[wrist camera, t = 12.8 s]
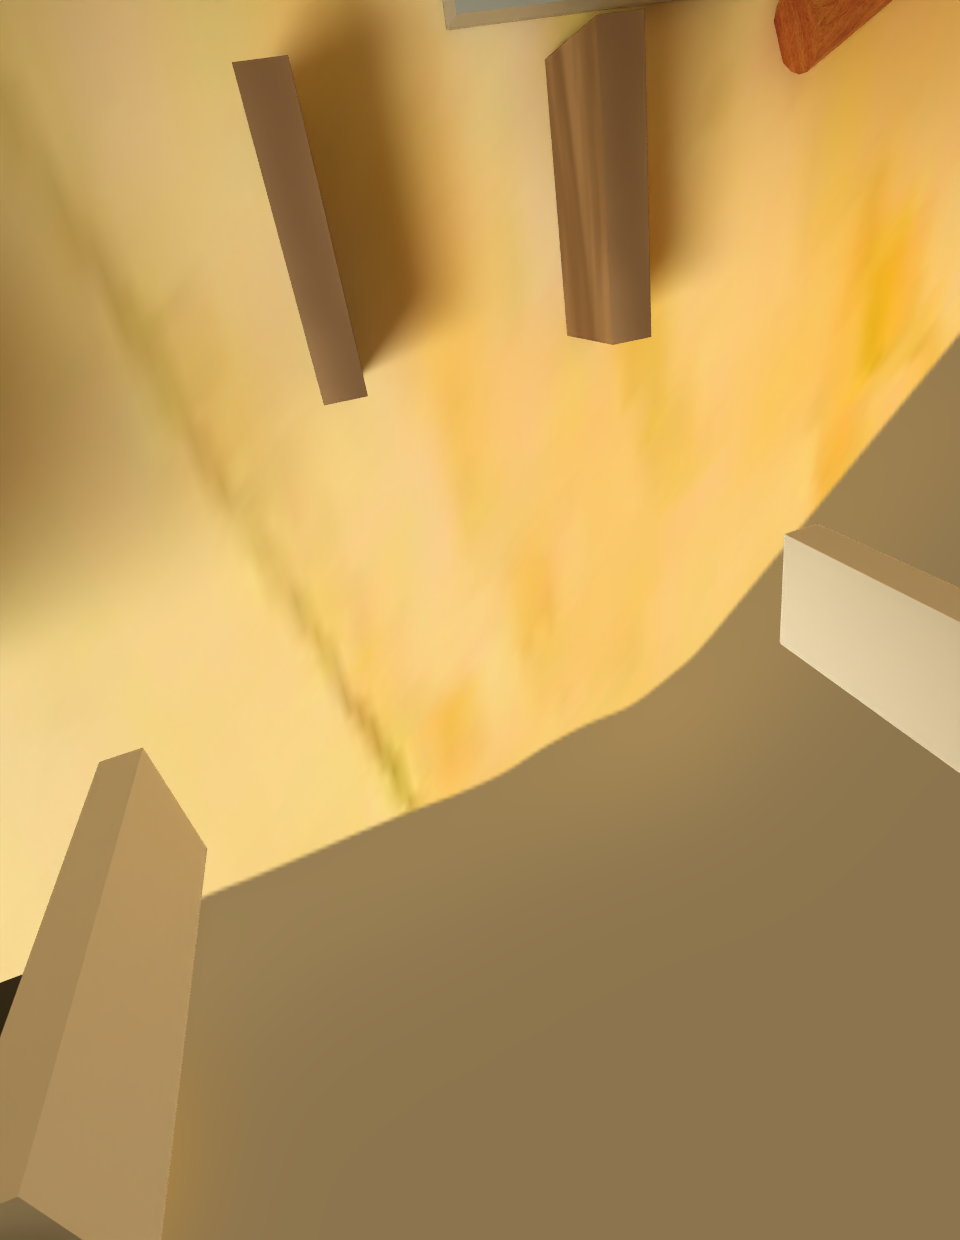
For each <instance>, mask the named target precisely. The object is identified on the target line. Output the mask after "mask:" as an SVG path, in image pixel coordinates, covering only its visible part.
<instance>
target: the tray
mask: <svg viewBox="0 0 960 1240" xmlns="http://www.w3.org/2000/svg"><path fill="white" fill-rule="evenodd" d="M667 1H675V0H443V7H444V14H445V22H446V29H447V30H451V29H459V28H466V27H474V26H482V25H489V24H497V23H505V22H513V21H520V20H528V19H536V18H544V17H551V16H559V15H567V14H575V13H582V12H590V11H598V10H605V9H613V8H621V7H629V6H636V5H644V4H652V3H660V2H667Z"/></svg>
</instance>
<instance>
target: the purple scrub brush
mask: <svg viewBox="0 0 960 1240" xmlns="http://www.w3.org/2000/svg"><path fill="white" fill-rule="evenodd" d="M891 1H892V0H780V2H779V3H778V5H777V9H776V13H775V18H774V24H775V28H776V33H777V37H778V42H779V46H780V51H781V56H782V60H783V63H784V64H785V65H786V66H787V67H788V68H789V70H790V71H792V72H794V73H797V74H802V73H805V72H807V71H809V70H810V69H811V68H812V67H813V66H815V65H816V64H817V63H818V62H819V61H821V60H822V59H823V58H824V57H825V56H827V55H828V54H829V53H830V52H831V51H833V50H834V49H835V48H836V47H837V46H838V45H840V44H841V43H842V42H843V41H844V40H846V39H847V38H848V37H849V36H850V35H852V34H853V33H854V32H855V31H856V30H858V29H859V28H860V27H861V26H862V25H864V24H865V23H866V22H867V21H868V20H869V19H871V18H872V17H873V16H874V15H875V14H877V13H878V12H879V11H880V10H881V9H883V8H884V7H885V6H886V5H887V4H889V3H890V2H891Z"/></svg>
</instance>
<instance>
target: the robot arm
mask: <svg viewBox="0 0 960 1240" xmlns="http://www.w3.org/2000/svg"><path fill="white" fill-rule="evenodd" d="M780 643H781V644H782V645H783V646H785V647H786V648H787V649H789V650H790V651H791V652H793V653H794V654H796V655H797V656H799V657H800V658H801V659H803V660H804V661H806V662H807V663H808V664H809V665H811V666H812V667H814V668H815V669H816V670H818V671H819V672H821V673H822V674H823V675H825V676H826V677H828V678H829V679H830V680H832V681H833V682H835V683H836V684H837V685H839V686H840V687H841V688H843V689H844V690H846V691H847V692H848V693H850V694H851V695H852V696H854V697H855V698H857V699H858V700H859V701H861V702H862V703H864V704H865V705H866V706H868V707H869V708H870V709H872V710H873V711H875V712H876V713H877V714H879V715H880V716H882V717H883V718H884V719H886V720H887V721H888V722H890V723H891V724H893V725H894V726H895V727H897V728H898V729H900V730H901V731H902V732H904V733H905V734H907V735H908V736H909V737H911V738H912V739H913V740H915V741H916V742H918V743H919V744H920V745H922V746H923V747H924V748H926V749H927V750H929V751H930V752H931V753H933V754H934V755H936V756H937V757H938V758H940V759H941V760H942V761H944V762H945V763H947V764H948V765H949V766H951V767H952V768H954V769H955V770H956V771H958V772H959V773H960V588H958V587H956V586H954V585H951V584H949V583H947V582H945V581H943V580H940V579H938V578H936V577H934V576H932V575H929V574H927V573H925V572H923V571H920V570H918V569H916V568H914V567H912V566H909V565H907V564H905V563H903V562H901V561H898V560H896V559H894V558H892V557H890V556H888V555H885V554H883V553H881V552H879V551H877V550H874V549H872V548H870V547H867V546H865V545H863V544H861V543H859V542H857V541H854V540H852V539H850V538H848V537H846V536H843V535H841V534H839V533H837V532H835V531H832V530H830V529H828V528H826V527H823V526H821V525H819V524H814V525H811V526H808V527H805V528H802V529H799V530H796V531H793V532H790V533H787V534H785V537H784V560H783V583H782V606H781V630H780ZM206 854H207V848H206V846H205V844H204V843H203V841H202V840H201V838H200V837H199V835H198V833H197V832H196V830H195V829H194V827H193V826H192V824H191V822H190V821H189V819H188V818H187V816H186V815H185V813H184V811H183V810H182V808H181V807H180V805H179V804H178V802H177V800H176V799H175V797H174V796H173V794H172V793H171V791H170V789H169V788H168V786H167V785H166V783H165V782H164V780H163V778H162V777H161V775H160V774H159V772H158V771H157V769H156V767H155V766H154V764H153V763H152V761H151V760H150V758H149V756H148V755H147V753H146V752H145V750H144V749H143V748H140V749H137V750H134V751H131V752H128V753H125V754H122V755H119V756H116V757H113V758H110V759H107V760H104V761H101V762H99V764H98V767H97V770H96V773H95V775H94V778H93V781H92V784H91V786H90V789H89V792H88V795H87V798H86V800H85V803H84V806H83V809H82V811H81V814H80V817H79V820H78V823H77V825H76V828H75V831H74V834H73V836H72V839H71V842H70V845H69V848H68V850H67V853H66V856H65V859H64V861H63V864H62V867H61V870H60V873H59V875H58V878H57V881H56V884H55V886H54V889H53V892H52V895H51V897H50V900H49V903H48V906H47V909H46V911H45V914H44V917H43V920H42V922H41V925H40V928H39V931H38V934H37V936H36V939H35V942H34V945H33V947H32V950H31V953H30V956H29V959H28V961H27V964H26V967H25V970H24V972H23V975H20V976H17V977H15V978H12V979H9V980H7V981H4V982H1V983H0V1240H161V1239H162V1238H161V1237H162V1230H163V1222H164V1212H165V1205H166V1196H167V1187H168V1179H169V1170H170V1162H171V1153H172V1145H173V1136H174V1126H175V1119H176V1110H177V1102H178V1093H179V1085H180V1076H181V1067H182V1059H183V1050H184V1042H185V1033H186V1025H187V1016H188V1007H189V999H190V990H191V982H192V972H193V964H194V955H195V948H196V939H197V931H198V922H199V913H200V905H201V896H202V888H203V879H204V871H205V862H206Z"/></svg>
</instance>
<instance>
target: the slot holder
mask: <svg viewBox="0 0 960 1240" xmlns="http://www.w3.org/2000/svg"><path fill="white" fill-rule="evenodd" d="M232 64H233V68H234V72H235V75H236V79H237V83H238V87H239V90H240V94H241V98H242V102H243V105H244V109H245V113H246V116H247V120H248V124H249V128H250V131H251V135H252V139H253V142H254V146H255V150H256V154H257V157H258V161H259V165H260V169H261V172H262V176H263V180H264V183H265V187H266V191H267V195H268V198H269V202H270V206H271V209H272V213H273V217H274V221H275V224H276V228H277V232H278V236H279V239H280V243H281V247H282V250H283V254H284V258H285V262H286V265H287V269H288V273H289V276H290V280H291V284H292V288H293V291H294V295H295V299H296V302H297V306H298V310H299V314H300V317H301V321H302V325H303V329H304V332H305V336H306V340H307V343H308V347H309V351H310V355H311V358H312V362H313V366H314V369H315V373H316V377H317V381H318V384H319V388H320V392H321V396H322V399H323V403H324V405H328V404H333V403H337V402H342V401H347V400H352V399H357V398H361V397H366V396H368V395H367V391H366V386H365V382H364V378H363V373H362V369H361V365H360V361H359V356H358V352H357V348H356V344H355V339H354V335H353V331H352V327H351V322H350V318H349V314H348V309H347V305H346V301H345V297H344V292H343V288H342V284H341V280H340V275H339V271H338V267H337V262H336V258H335V254H334V250H333V245H332V241H331V237H330V233H329V228H328V224H327V220H326V215H325V211H324V207H323V203H322V198H321V194H320V190H319V186H318V181H317V177H316V173H315V169H314V164H313V160H312V156H311V151H310V147H309V143H308V139H307V134H306V130H305V126H304V122H303V117H302V113H301V109H300V104H299V100H298V96H297V92H296V87H295V83H294V79H293V75H292V70H291V66H290V62H289V57H288V55H285V56H277V57H270V58H262V59H254V60H247V61H239V62H232ZM545 64H546V77H547V89H548V102H549V114H550V126H551V139H552V151H553V163H554V176H555V188H556V201H557V213H558V225H559V238H560V250H561V262H562V275H563V287H564V300H565V312H566V324H567V336H572V337H577V338H582V339H587V340H592V341H597V342H602V343H607V344H612V345H614V344H619V343H624V342H629V341H633V340H638V339H643V338H648V337H651V303H650V255H649V207H648V159H647V111H646V62H645V14H644V9H638V10H630V11H623V12H615V13H607V14H600V15H596V16H595V17H594V18H593V19H592V20H590V21H589V22H588V23H587V24H586V25H585V26H584V27H582V28H581V29H580V30H579V31H578V32H577V33H576V34H574V35H573V36H572V37H571V38H570V39H569V40H568V41H566V42H565V43H564V44H563V45H562V46H561V47H560V48H558V49H557V50H556V51H555V52H554V53H553V54H551V55H550V56H549V57H548V58H547V59H546V60H545Z"/></svg>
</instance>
